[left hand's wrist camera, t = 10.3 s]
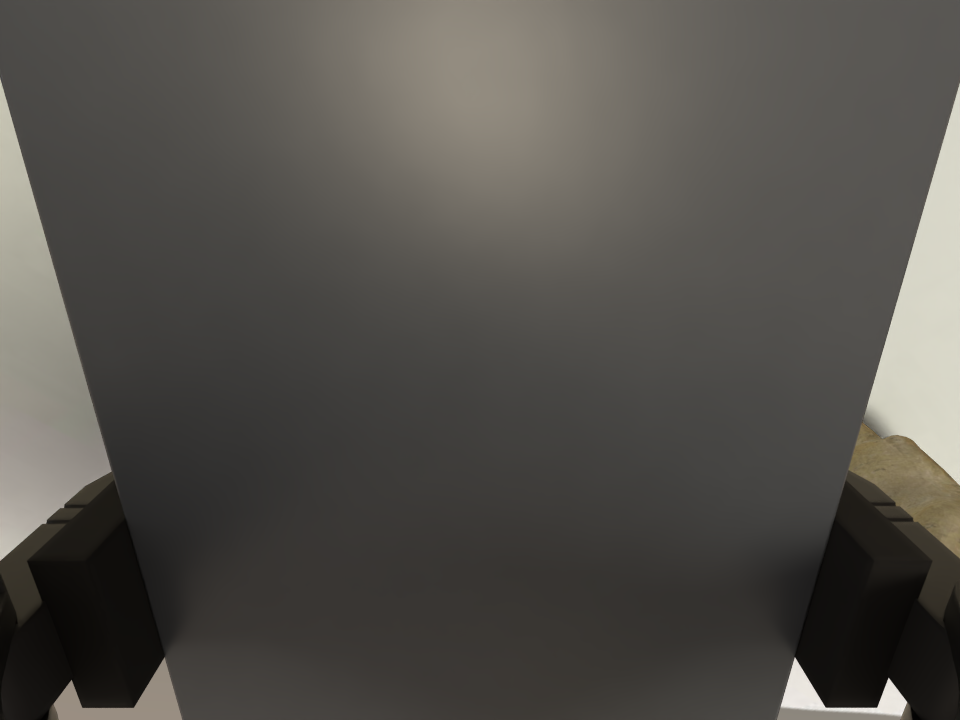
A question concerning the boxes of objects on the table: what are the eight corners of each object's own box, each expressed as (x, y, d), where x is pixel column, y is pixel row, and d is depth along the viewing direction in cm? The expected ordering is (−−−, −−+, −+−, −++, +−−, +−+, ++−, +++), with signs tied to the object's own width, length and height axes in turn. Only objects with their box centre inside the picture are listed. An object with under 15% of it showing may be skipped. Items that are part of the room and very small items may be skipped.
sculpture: (724, 476, 28) (968, 812, 14) (852, 386, 26) (1280, 669, 12) (787, 544, 29) (1063, 908, 15) (912, 463, 28) (1352, 793, 14)
